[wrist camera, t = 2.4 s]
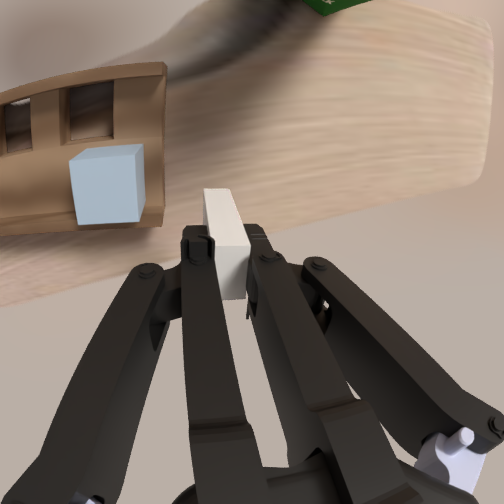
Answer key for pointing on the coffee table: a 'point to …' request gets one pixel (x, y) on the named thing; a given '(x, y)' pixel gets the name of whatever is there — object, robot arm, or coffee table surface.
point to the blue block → (108, 184)
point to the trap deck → (80, 148)
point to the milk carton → (332, 5)
